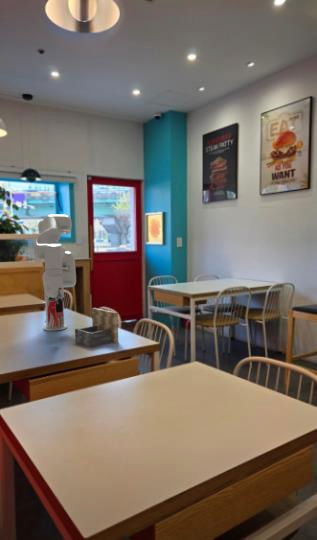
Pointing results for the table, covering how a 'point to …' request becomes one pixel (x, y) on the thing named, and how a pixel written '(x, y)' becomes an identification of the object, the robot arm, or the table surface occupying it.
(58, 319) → the soda can
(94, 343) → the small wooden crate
